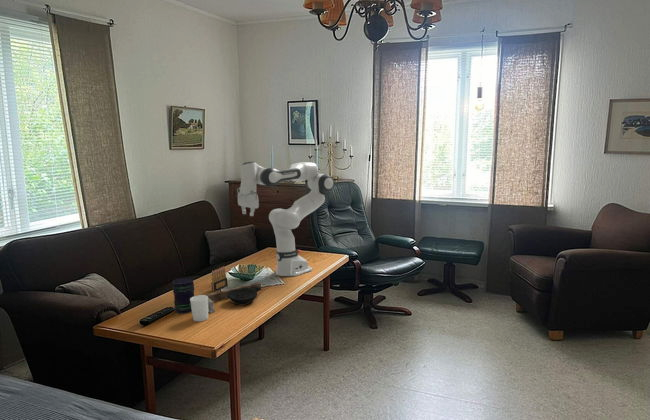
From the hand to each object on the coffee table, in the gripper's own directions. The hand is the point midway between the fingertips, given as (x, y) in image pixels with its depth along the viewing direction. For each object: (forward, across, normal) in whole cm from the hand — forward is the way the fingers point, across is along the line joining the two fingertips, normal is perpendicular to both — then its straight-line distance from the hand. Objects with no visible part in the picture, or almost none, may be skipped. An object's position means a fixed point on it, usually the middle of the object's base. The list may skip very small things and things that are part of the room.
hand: (247, 215), depth 249 cm
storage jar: (+43, -19, +41) cm, 62 cm away
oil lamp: (+41, -27, +13) cm, 50 cm away
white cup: (+43, -35, +39) cm, 68 cm away
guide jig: (+41, -23, +16) cm, 50 cm away
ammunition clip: (+41, 0, +16) cm, 44 cm away
